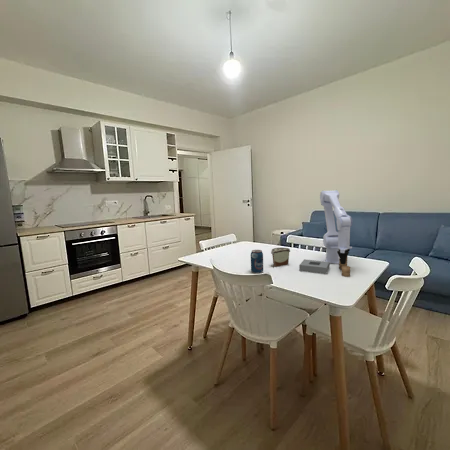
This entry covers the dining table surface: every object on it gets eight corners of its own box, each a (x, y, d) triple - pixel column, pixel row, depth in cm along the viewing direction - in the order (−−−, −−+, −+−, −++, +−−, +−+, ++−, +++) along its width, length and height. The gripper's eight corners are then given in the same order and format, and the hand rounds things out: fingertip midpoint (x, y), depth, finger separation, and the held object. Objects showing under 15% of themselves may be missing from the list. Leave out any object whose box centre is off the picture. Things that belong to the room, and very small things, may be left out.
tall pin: (339, 266, 139) (339, 253, 138) (347, 267, 137) (347, 253, 136) (338, 269, 135) (339, 254, 134) (346, 269, 133) (347, 255, 132)
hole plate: (304, 265, 147) (304, 259, 146) (329, 267, 139) (329, 261, 139) (299, 270, 136) (299, 264, 136) (326, 274, 129) (326, 267, 129)
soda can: (256, 274, 134) (256, 253, 132) (248, 271, 139) (247, 250, 137) (266, 271, 138) (265, 250, 136) (257, 268, 143) (256, 248, 142)
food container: (284, 262, 154) (284, 246, 153) (290, 264, 149) (290, 248, 147) (267, 264, 150) (267, 248, 149) (272, 267, 144) (272, 251, 143)
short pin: (341, 273, 129) (341, 265, 129) (350, 274, 127) (350, 266, 126) (341, 276, 126) (341, 267, 125) (349, 277, 124) (350, 268, 123)
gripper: (351, 241, 125) (350, 267, 127) (352, 236, 138) (352, 260, 140) (336, 240, 129) (335, 265, 131) (339, 235, 141) (338, 258, 143)
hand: (343, 262), depth 136 cm, fingers closed on tall pin, 4 cm apart
